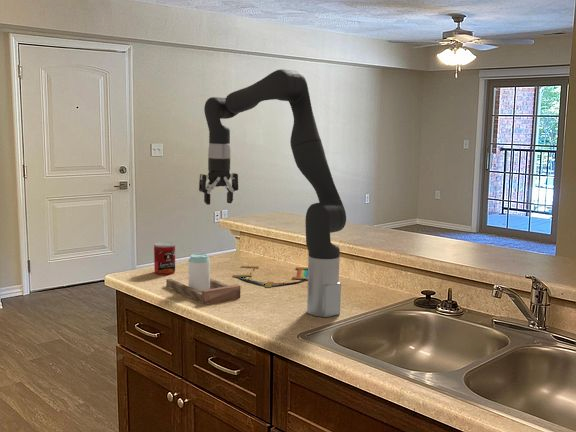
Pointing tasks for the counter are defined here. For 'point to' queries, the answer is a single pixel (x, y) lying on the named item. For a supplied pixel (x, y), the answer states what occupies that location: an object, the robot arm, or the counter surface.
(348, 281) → the counter surface
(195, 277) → the can
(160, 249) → the canned food
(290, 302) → the counter surface
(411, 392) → the counter surface
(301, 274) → the ribbon cable
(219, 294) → the channel
